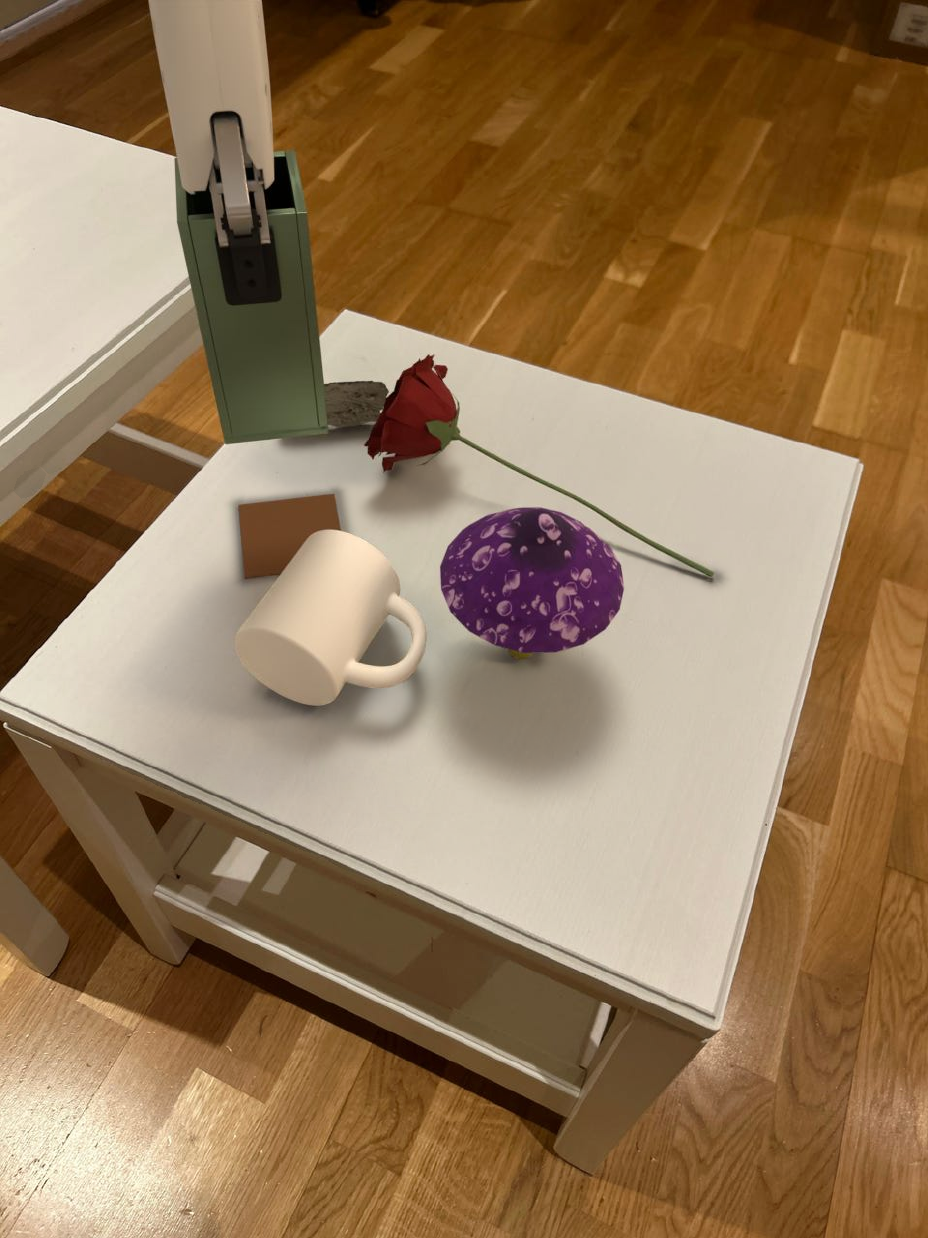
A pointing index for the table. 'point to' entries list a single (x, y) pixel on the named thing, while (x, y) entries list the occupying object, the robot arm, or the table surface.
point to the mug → (328, 621)
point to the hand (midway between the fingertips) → (249, 261)
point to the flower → (446, 432)
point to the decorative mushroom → (531, 581)
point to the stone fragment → (354, 402)
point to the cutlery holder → (259, 317)
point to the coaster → (281, 530)
